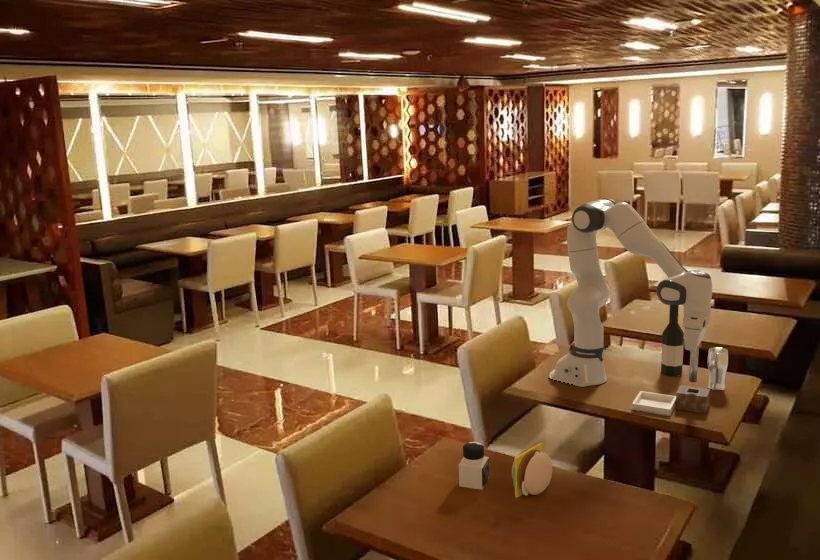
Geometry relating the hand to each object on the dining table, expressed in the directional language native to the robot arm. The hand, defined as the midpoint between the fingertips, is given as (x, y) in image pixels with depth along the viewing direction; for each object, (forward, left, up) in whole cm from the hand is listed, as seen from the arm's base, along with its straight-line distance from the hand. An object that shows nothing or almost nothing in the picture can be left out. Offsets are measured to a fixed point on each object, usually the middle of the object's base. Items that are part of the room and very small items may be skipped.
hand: (694, 355), depth 249 cm
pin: (0, 0, -10) cm, 10 cm away
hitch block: (0, 0, -19) cm, 19 cm away
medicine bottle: (-47, -82, -20) cm, 96 cm away
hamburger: (-30, -79, -20) cm, 87 cm away
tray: (-12, -5, -19) cm, 23 cm away
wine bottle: (-13, +32, -20) cm, 40 cm away
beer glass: (+5, +22, -20) cm, 30 cm away
